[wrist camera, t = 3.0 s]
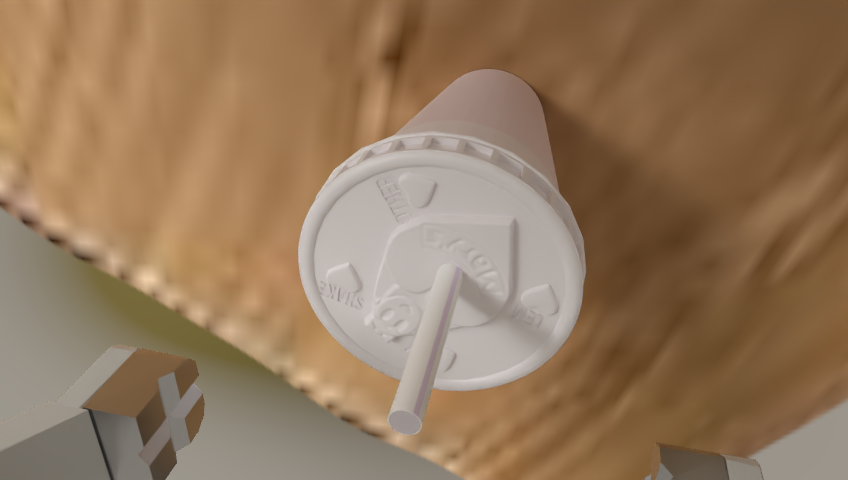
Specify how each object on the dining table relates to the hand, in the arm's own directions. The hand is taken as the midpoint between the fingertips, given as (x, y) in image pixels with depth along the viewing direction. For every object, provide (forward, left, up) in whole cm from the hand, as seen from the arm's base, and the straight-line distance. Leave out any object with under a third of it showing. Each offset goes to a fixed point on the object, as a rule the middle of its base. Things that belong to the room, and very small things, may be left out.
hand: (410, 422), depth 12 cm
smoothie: (0, 0, -13) cm, 13 cm away
